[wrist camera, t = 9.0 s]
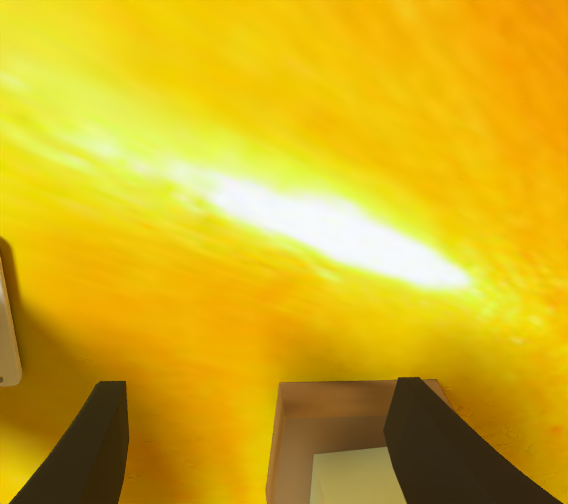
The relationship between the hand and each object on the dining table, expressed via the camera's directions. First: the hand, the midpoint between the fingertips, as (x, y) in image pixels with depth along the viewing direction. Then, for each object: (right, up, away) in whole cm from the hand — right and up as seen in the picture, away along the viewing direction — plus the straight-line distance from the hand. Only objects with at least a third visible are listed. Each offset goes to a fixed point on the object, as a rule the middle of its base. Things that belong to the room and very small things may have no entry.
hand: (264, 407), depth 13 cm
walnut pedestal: (+4, -7, +16) cm, 18 cm away
